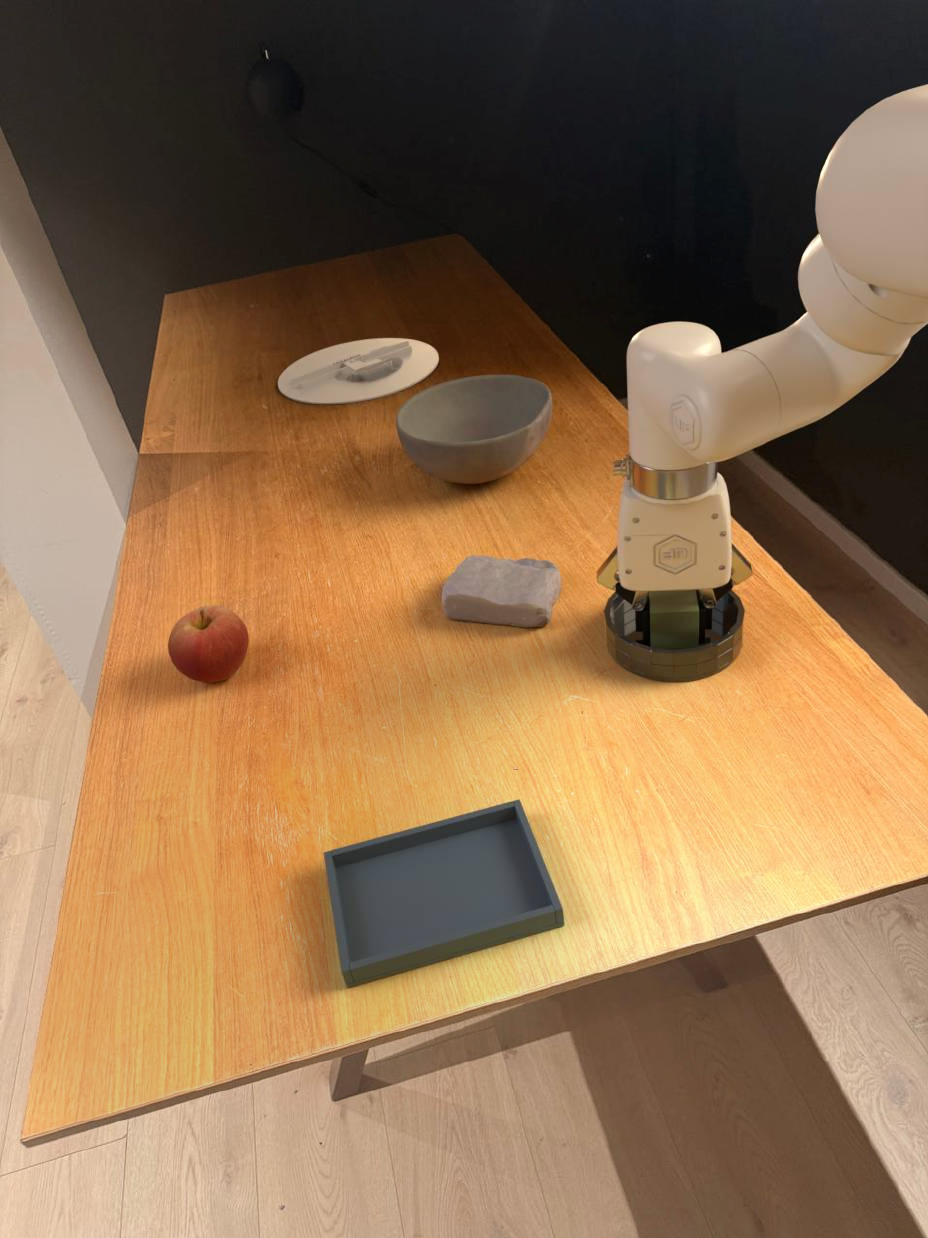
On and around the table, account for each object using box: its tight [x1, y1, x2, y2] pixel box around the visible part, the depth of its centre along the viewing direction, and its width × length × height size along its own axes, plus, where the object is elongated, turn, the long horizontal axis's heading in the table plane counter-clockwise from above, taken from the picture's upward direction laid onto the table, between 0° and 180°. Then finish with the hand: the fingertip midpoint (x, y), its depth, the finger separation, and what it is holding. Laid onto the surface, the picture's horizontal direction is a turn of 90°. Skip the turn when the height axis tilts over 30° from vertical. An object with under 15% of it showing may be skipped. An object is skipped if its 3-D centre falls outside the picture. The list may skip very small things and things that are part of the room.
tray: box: [323, 798, 565, 989], centre depth 72 cm, size 16×11×2 cm
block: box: [649, 590, 699, 649], centre depth 92 cm, size 4×4×4 cm
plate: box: [277, 337, 440, 405], centre depth 163 cm, size 28×28×1 cm
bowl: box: [395, 374, 553, 485], centre depth 125 cm, size 20×20×10 cm
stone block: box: [441, 554, 563, 628], centre depth 102 cm, size 12×5×10 cm
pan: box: [603, 588, 746, 683], centre depth 93 cm, size 13×13×4 cm
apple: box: [167, 604, 250, 684], centre depth 97 cm, size 8×8×8 cm
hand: (673, 632), depth 94 cm, fingers closed on block, 4 cm apart
